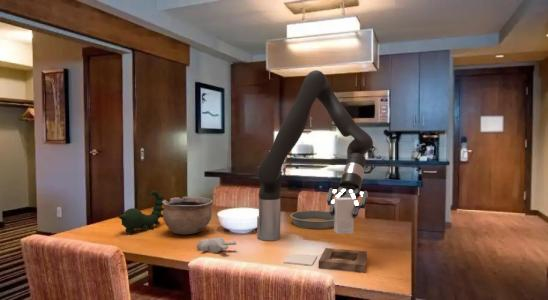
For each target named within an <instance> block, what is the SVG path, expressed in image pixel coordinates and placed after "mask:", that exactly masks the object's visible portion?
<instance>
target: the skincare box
mask: <svg viewBox="0 0 548 300" xmlns="http://www.w3.org/2000/svg"><path fill="white" fill-rule="evenodd" d="M333 199H334V227H333V231H334V233H335V234H336V235H350V234H354V231H355V230H354V229H355V228H354V226H355V225H354V224H355V223H354V221H355V218H353V216H352V213H353V209H354V206H355V205H354V199H352V198H335V197H333Z"/></svg>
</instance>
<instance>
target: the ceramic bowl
mask: <svg viewBox="0 0 548 300" xmlns="http://www.w3.org/2000/svg"><path fill="white" fill-rule="evenodd" d="M169 200H170V201H167V200H166V199H163V200H162V203H163V204H162V206H163V208H164V210H163V212H162V214H163V217H162V219H163V221H164V224H165V225H166V227H167V228H168V230H170V231H172V233H174V234H177V235H183V236H184V235H193V234H197V233H201V231H203V230H204V229H205V228H206V227H207V226H208V225H209V224H210V221H211V220H212V213H213V212H212V203H213V199H211V198H208V197H199V196H183V197H182V198H181V197H172V198H171V197H170V199H169Z"/></svg>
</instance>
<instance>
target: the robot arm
mask: <svg viewBox="0 0 548 300" xmlns="http://www.w3.org/2000/svg"><path fill="white" fill-rule="evenodd" d="M316 99H317V100H319V102H320V103H321V104H322V105H323V107H324V108H325V110H326V112H327V113H328V115H329V117H330V119H331V121H332V123H333V124H334V125H335V127H336V128H337V129H338V132H339V133H340V134H341V135H342V136H343V137H344V138H347V137H350V136H351V137H352V138H353V140H351V141H350V143H349V144H348V146H347V150H346V157H347V159H346V162H345V165H344V168H343V171H342V175H341V179H340V182H339V185H338V188H337V189H333V188H332V187H329V189H328V193H327V198H326V202H327V205H328V206H329V209H328V210H329V211H328V212H330V214H331V216H334V198H352V199H354V209H353V213H352V216H353V218H354V219H356V218H357V217H358V215H359V211H360V209H366V206H367V202H368V198H369V195H368V191H367V190H364V191H361V187H362V184H363V179H364V171H365V167H366V164H367V163H366V162H367V161H366V156H365V154H366V153H368V152H369V151H370V150H371V149H372V148H373V145H374V142H373V139H372V137H371V136H370V135H369V133H367V132H366V131H365V130H363V128H362V127H360V126H359V125H358V124H357V123H356V121H355V120H354V118H352V116H351V115H350V112H348V111H347V110H346V108H345V107H344V106H343V104H342V103H341V102H340V101H339V99H338V97H337V96H336V94H335V92H334V90H333V88H332V86H331V84H330V81H329V79H328V77H327V76H326V75H325V74H324V72H322V71H320V70H317V69H316V70H312V71H310V72H309V73H308V74H307V75H306V76H305V78H304V80H303V82H302V85H301V87H300V89H299V91H298V95H297V97H296V98H295V101H294V103H292V105H291V108H290V109H289V110H288V111H289V112H288V113H287V115H286V116H285V118H284V120H283V122H282V124H281V126H280V128H279V130H278V132H277V134H276V136H275V139H274V142H273V144H272V146H271V148H270V149H269V151H268V153H267V154H266V156H265V157H264V159H263V160H262V162H261V163H260V165H259V167H258V169H257V177H258V179H259V191H258V215H257V216H256V217H257V219H256V220H257V222H256V225H257V226H256V228H257V229H256V230H257V232H256V236H257V237H256V239H257V240H261V241H272V242H273V241H277V240H280V238H281V193H282V192H281V191H282V167H283V165H284V162H285V160H286V158H287V157H288V155H289V154H290V153H291V151H293V149H294V148H295V146H296V145H297V143H298V142H299V140H300V138H301V137H302V134H303V132H304V130H305V128H306V126H307V123H308V121H309V116H310V114H311V113H310V112H311V109H312V106H313V104H314V102H315V100H316ZM359 197H361V201H360V202H359V200H358V198H359Z"/></svg>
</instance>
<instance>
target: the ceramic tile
mask: <svg viewBox="0 0 548 300" xmlns="http://www.w3.org/2000/svg"><path fill="white" fill-rule="evenodd" d="M317 258H318V255H317V254H316V255H315V254H305V253H295V252H294V253H293V252H290V253H289V254H288V256H286V258H285V259H284V260H283V264H289V265H297V264H299V265H298V266H307V267H308V266H309V267H313V265H314V263H315V261H316V259H317Z"/></svg>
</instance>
